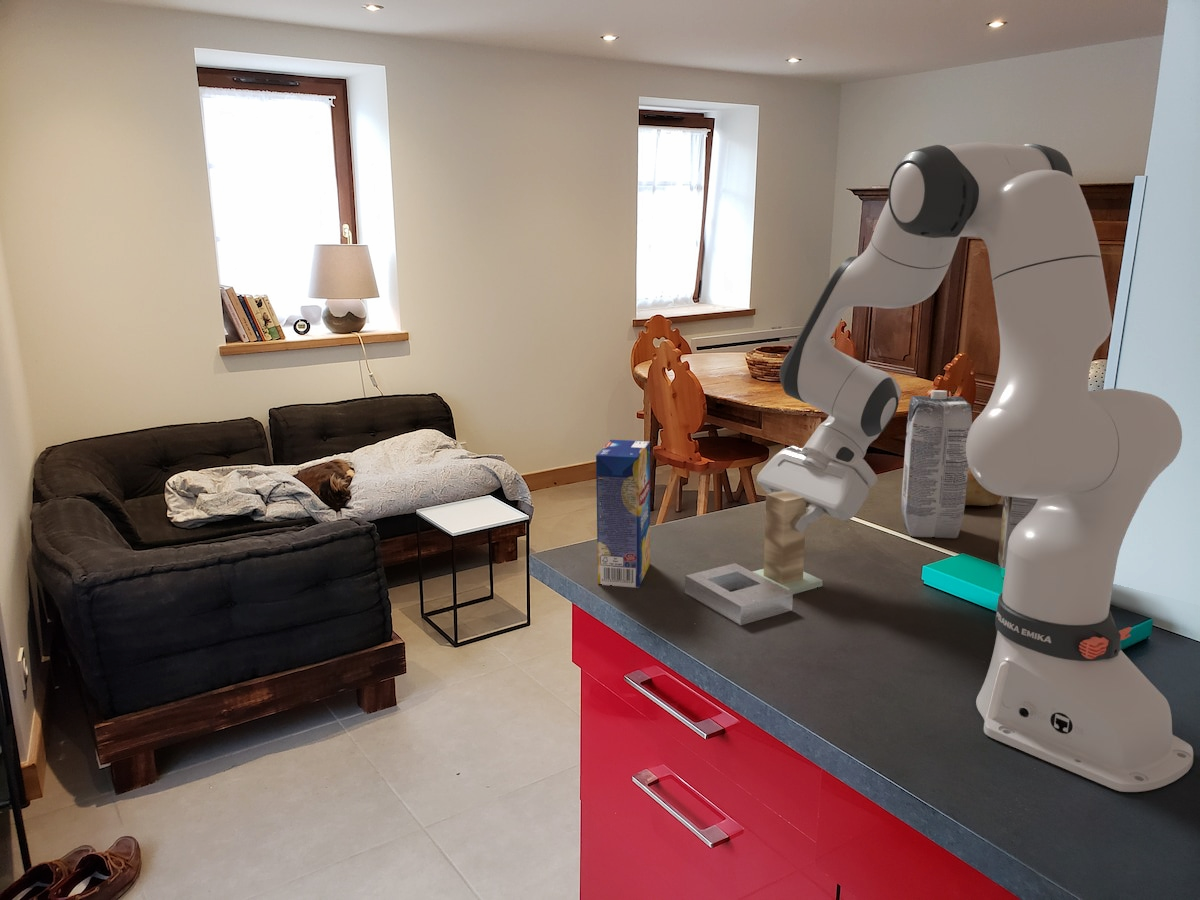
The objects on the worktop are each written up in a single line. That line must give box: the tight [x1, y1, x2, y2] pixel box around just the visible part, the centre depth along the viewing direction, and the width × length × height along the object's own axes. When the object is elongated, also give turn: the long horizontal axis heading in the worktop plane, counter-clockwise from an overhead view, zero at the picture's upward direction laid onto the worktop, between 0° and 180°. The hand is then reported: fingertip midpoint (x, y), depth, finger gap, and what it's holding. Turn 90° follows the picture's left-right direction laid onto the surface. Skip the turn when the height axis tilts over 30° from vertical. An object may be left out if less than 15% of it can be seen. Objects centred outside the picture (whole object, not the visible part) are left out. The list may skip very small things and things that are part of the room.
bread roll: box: [965, 467, 1002, 507], centre depth 184 cm, size 10×15×8 cm, turn 79°
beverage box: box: [595, 439, 651, 588], centre depth 148 cm, size 7×11×22 cm, turn 167°
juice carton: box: [900, 389, 973, 539], centre depth 166 cm, size 9×10×27 cm
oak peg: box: [763, 491, 807, 584], centre depth 144 cm, size 4×4×14 cm
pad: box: [752, 568, 824, 595], centre depth 146 cm, size 9×9×1 cm
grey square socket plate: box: [684, 562, 794, 626], centre depth 139 cm, size 14×10×3 cm
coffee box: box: [997, 496, 1038, 568], centre depth 148 cm, size 9×6×16 cm
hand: (782, 523), depth 144 cm, fingers open, 5 cm apart
